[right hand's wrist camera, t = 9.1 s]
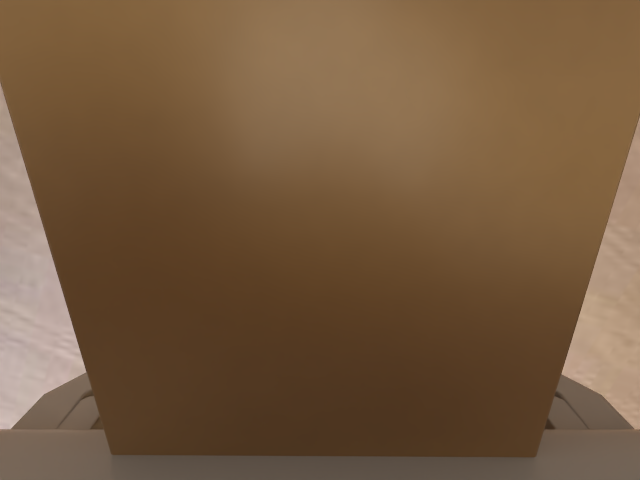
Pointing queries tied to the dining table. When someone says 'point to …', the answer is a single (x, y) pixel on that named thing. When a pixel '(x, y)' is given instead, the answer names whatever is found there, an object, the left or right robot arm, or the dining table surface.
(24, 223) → the dining table surface
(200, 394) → the box
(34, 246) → the dining table surface
